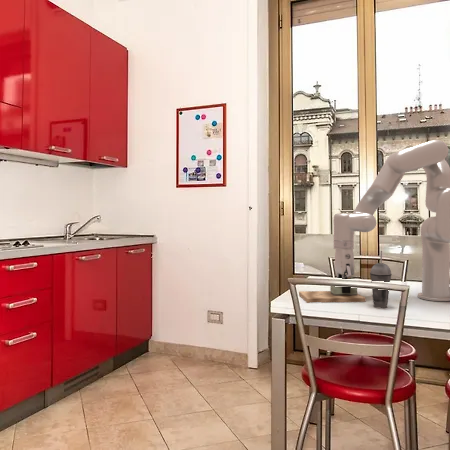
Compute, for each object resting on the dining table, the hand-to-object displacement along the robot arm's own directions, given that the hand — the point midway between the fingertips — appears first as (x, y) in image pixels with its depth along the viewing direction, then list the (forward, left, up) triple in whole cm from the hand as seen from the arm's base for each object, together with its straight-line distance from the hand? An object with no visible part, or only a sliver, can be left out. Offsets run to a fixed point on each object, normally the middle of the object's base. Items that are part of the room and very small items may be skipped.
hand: (343, 291), depth 164 cm
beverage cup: (-8, +15, -3) cm, 17 cm away
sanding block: (0, 0, -1) cm, 1 cm away
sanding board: (+5, 0, -3) cm, 6 cm away
